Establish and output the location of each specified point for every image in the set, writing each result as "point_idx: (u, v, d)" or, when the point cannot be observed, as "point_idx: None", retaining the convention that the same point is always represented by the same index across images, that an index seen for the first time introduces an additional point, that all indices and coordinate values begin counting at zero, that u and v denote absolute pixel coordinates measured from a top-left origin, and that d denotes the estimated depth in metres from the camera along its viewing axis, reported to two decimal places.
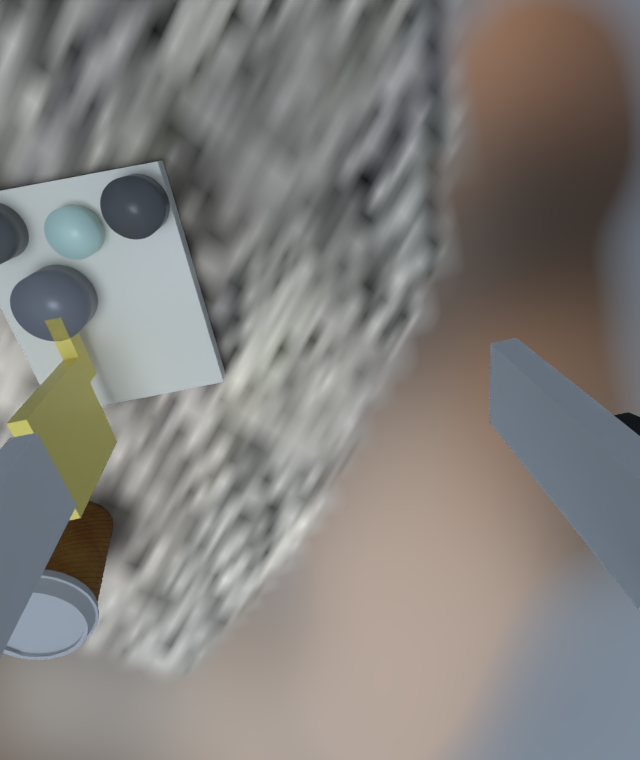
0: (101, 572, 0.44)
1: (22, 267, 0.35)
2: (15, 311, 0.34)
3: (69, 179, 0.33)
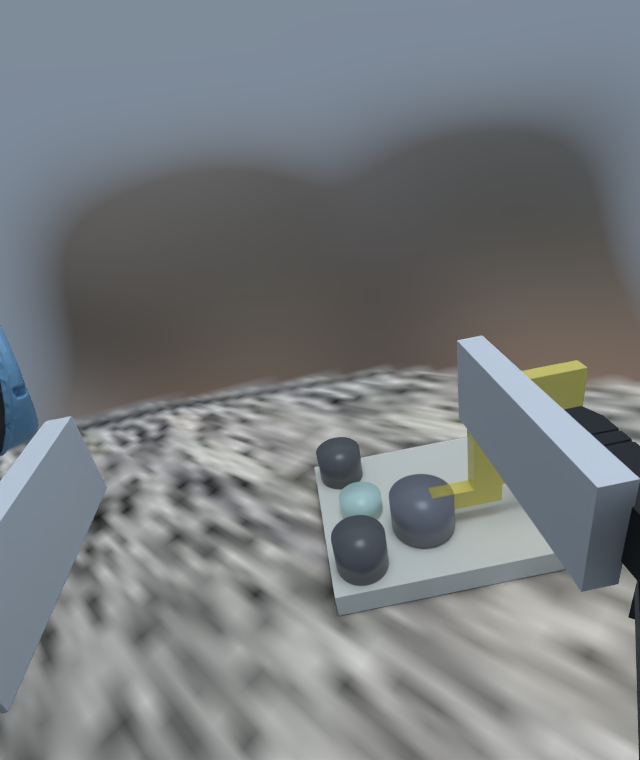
0: None
1: (397, 551, 0.36)
2: (426, 516, 0.35)
3: (322, 512, 0.41)
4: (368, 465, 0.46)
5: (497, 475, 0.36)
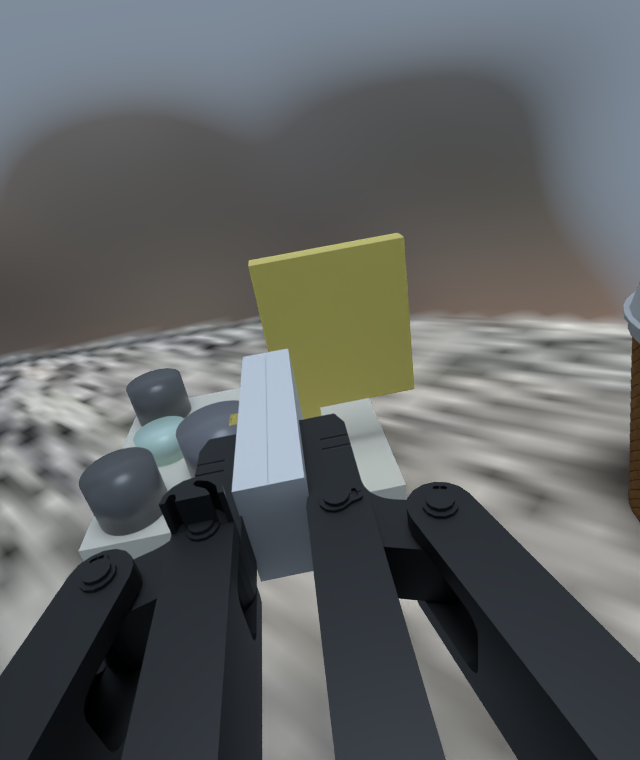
0: None
1: None
2: None
3: None
4: (201, 403, 0.37)
5: (310, 394, 0.27)
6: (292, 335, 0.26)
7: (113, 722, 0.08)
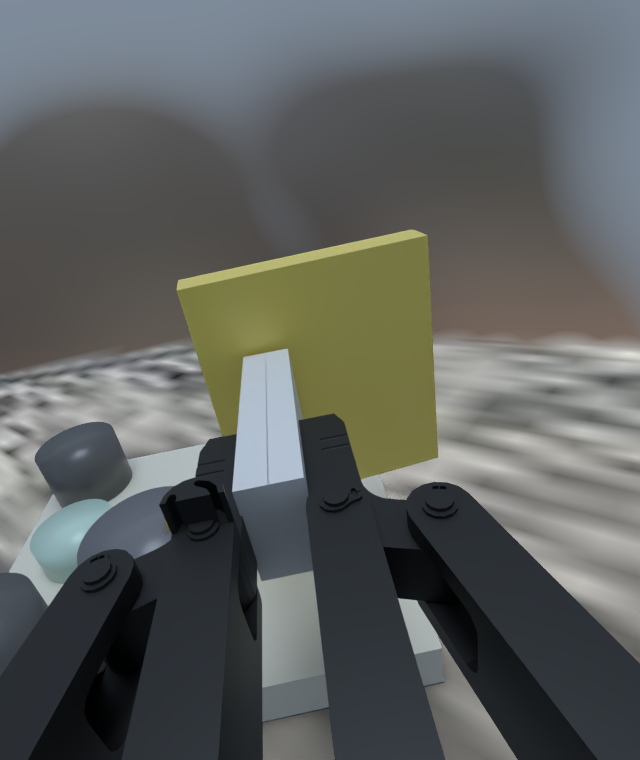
0: None
1: None
2: None
3: (20, 554, 0.23)
4: (146, 469, 0.27)
5: None
6: None
7: (113, 722, 0.08)
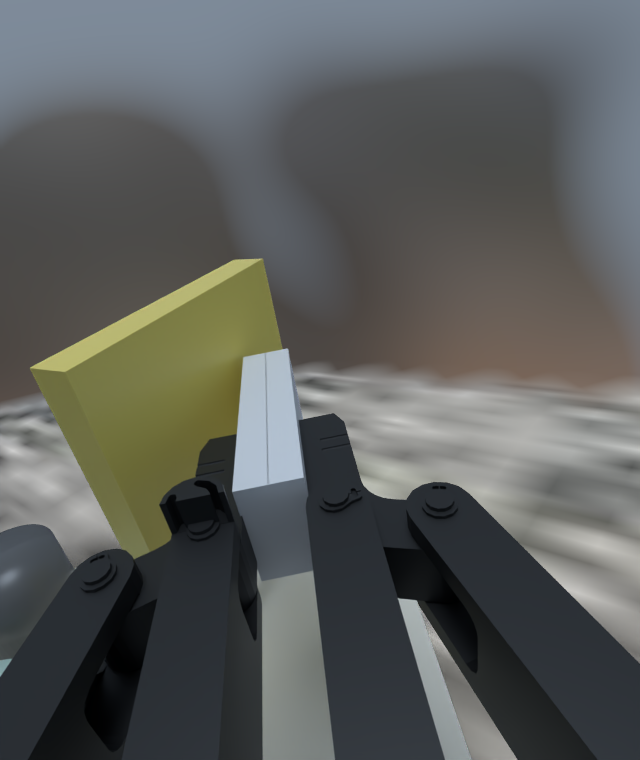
0: None
1: None
2: None
3: None
4: None
5: None
6: (171, 476, 0.13)
7: (113, 722, 0.08)
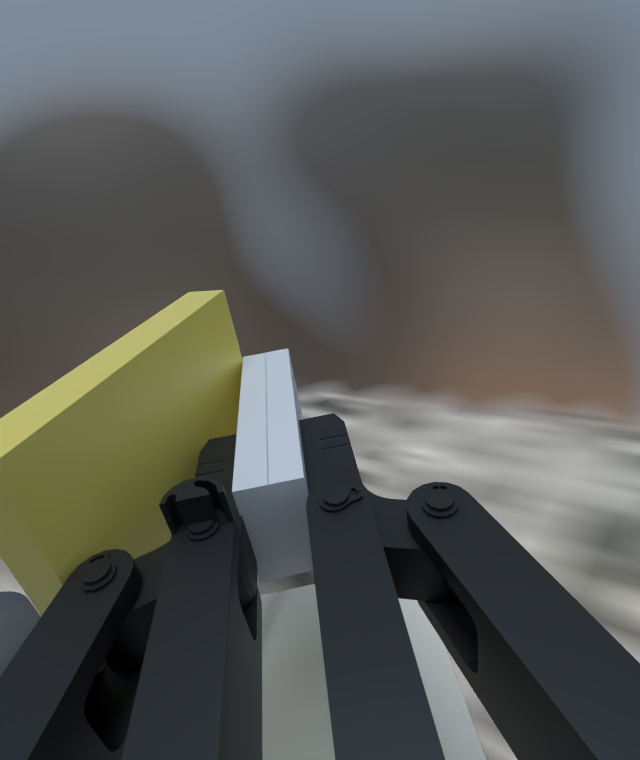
0: None
1: None
2: None
3: None
4: None
5: None
6: None
7: (113, 722, 0.08)
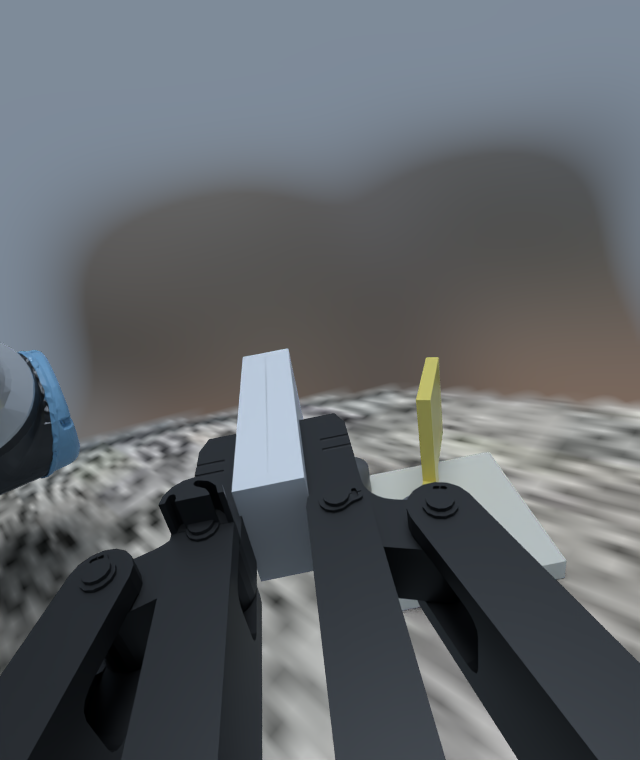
0: None
1: None
2: None
3: None
4: (376, 482, 0.50)
5: (437, 461, 0.45)
6: (434, 429, 0.43)
7: (113, 722, 0.08)
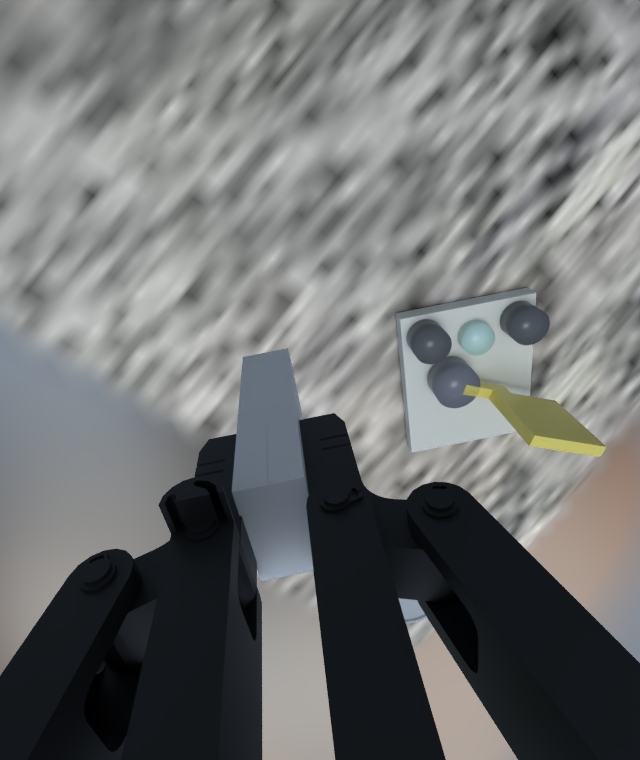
0: None
1: None
2: (448, 405, 0.52)
3: (479, 304, 0.50)
4: None
5: None
6: None
7: (113, 722, 0.08)
